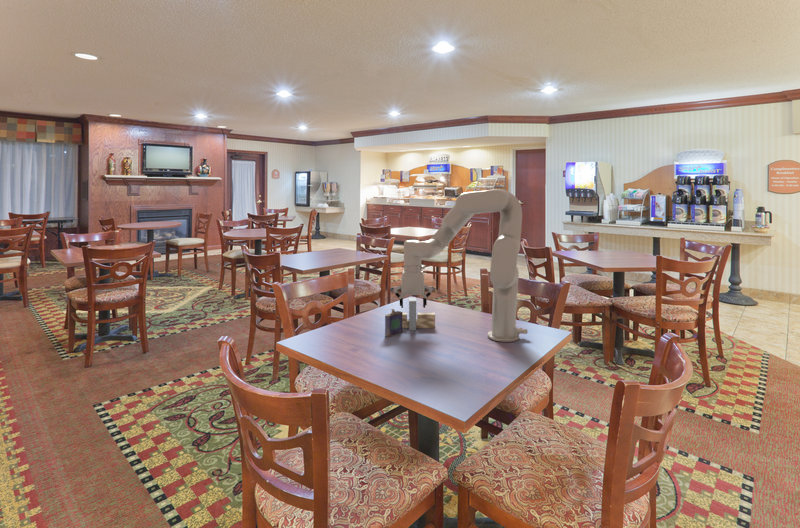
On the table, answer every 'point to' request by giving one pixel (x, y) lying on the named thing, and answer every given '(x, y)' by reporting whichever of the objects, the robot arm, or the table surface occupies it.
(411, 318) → the flat gray plate
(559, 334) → the table surface
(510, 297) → the robot arm
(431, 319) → the rail
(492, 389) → the table surface
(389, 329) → the flask
